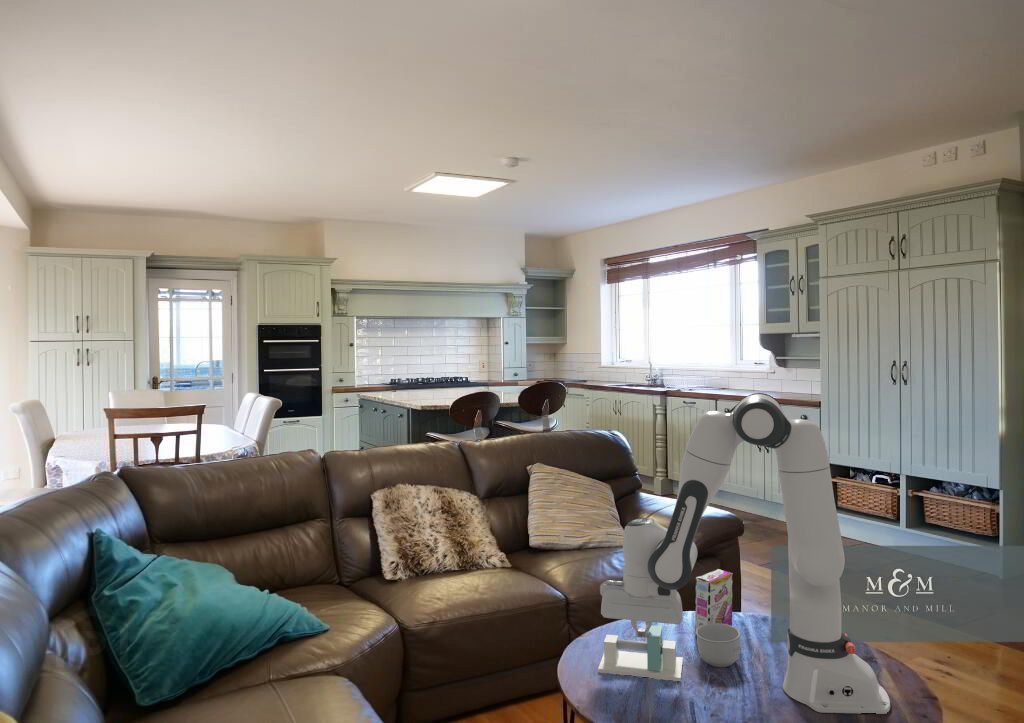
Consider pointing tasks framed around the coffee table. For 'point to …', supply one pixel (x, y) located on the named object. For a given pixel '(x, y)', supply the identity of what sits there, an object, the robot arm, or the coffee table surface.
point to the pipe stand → (639, 659)
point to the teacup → (718, 644)
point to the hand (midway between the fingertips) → (641, 636)
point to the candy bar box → (714, 598)
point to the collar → (654, 648)
